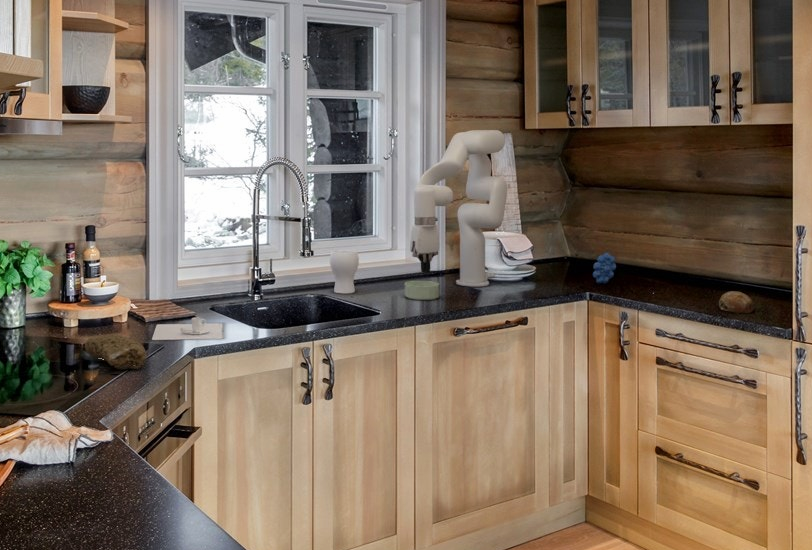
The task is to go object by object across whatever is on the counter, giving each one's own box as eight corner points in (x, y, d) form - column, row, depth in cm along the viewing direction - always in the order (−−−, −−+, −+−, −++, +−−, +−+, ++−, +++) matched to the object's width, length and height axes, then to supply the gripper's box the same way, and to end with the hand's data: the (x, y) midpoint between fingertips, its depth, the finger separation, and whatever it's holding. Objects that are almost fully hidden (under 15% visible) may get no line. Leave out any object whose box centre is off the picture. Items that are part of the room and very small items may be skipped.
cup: (358, 289, 316) (358, 249, 316) (358, 294, 306) (358, 253, 306) (330, 289, 317) (330, 249, 317) (329, 294, 307) (329, 253, 307)
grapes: (606, 280, 333) (606, 250, 333) (620, 283, 327) (620, 252, 327) (584, 283, 328) (585, 252, 328) (598, 285, 322) (598, 254, 322)
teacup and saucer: (179, 335, 243) (179, 321, 243) (181, 329, 251) (181, 315, 251) (210, 335, 243) (210, 321, 243) (210, 329, 251) (210, 315, 251)
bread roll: (716, 318, 280) (708, 297, 278) (737, 303, 283) (729, 282, 281) (741, 324, 270) (734, 303, 269) (763, 309, 273) (755, 287, 272)
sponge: (152, 373, 209) (132, 339, 226) (148, 345, 207) (128, 313, 224) (100, 388, 204) (83, 353, 222) (95, 360, 202) (78, 326, 219)
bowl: (408, 293, 308) (408, 279, 308) (441, 295, 304) (441, 281, 304) (401, 299, 296) (401, 285, 296) (436, 301, 292) (436, 287, 292)
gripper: (435, 219, 309) (435, 268, 309) (401, 222, 302) (402, 272, 303) (448, 221, 302) (448, 271, 303) (414, 224, 295) (414, 276, 296)
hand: (425, 272), depth 303 cm, fingers closed
